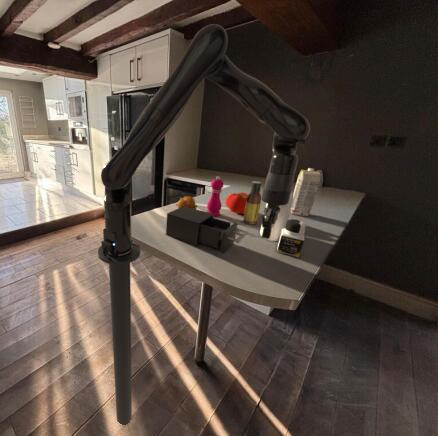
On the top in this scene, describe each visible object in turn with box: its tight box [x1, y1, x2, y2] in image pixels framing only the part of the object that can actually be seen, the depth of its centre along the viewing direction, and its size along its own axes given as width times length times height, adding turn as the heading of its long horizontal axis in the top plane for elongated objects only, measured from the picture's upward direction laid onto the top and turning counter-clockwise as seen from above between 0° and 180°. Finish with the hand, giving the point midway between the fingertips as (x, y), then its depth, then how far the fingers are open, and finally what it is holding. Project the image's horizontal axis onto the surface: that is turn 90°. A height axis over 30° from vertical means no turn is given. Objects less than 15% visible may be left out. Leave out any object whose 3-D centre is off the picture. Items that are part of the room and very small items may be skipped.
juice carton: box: [290, 167, 322, 217], centre depth 120 cm, size 9×8×24 cm
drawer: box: [198, 217, 247, 253], centre depth 89 cm, size 18×11×8 cm, turn 50°
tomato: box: [225, 192, 250, 215], centre depth 123 cm, size 14×16×10 cm
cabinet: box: [165, 206, 215, 247], centre depth 96 cm, size 15×13×10 cm
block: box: [212, 226, 225, 243], centre depth 89 cm, size 4×4×4 cm
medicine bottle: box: [276, 218, 307, 258], centre depth 85 cm, size 7×7×12 cm
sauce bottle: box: [243, 180, 263, 225], centre depth 108 cm, size 7×6×20 cm
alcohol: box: [259, 191, 293, 242], centre depth 92 cm, size 9×9×30 cm
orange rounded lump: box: [176, 195, 199, 210], centre depth 120 cm, size 10×11×10 cm
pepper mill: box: [206, 175, 224, 217], centre depth 117 cm, size 7×7×20 cm
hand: (265, 237), depth 78 cm, fingers closed
